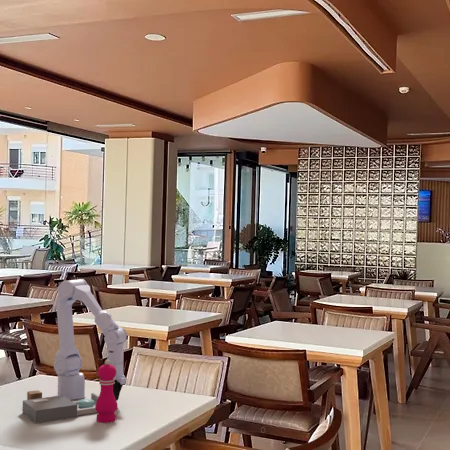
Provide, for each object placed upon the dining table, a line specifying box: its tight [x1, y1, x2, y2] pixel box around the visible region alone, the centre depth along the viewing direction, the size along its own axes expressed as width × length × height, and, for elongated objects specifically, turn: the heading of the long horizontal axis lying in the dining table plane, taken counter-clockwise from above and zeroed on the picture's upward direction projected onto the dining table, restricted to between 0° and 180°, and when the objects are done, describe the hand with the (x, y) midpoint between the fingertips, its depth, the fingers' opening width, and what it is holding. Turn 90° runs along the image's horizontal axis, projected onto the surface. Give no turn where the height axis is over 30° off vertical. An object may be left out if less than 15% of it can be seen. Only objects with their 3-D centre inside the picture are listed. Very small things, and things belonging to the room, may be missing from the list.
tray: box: [73, 392, 99, 416], centre depth 227 cm, size 14×14×3 cm
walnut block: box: [26, 389, 43, 400], centre depth 231 cm, size 4×4×5 cm
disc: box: [78, 398, 94, 409], centre depth 228 cm, size 5×5×2 cm
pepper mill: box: [95, 359, 118, 424], centre depth 216 cm, size 7×7×20 cm
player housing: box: [22, 395, 78, 424], centre depth 221 cm, size 14×14×4 cm
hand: (114, 400), depth 234 cm, fingers closed
